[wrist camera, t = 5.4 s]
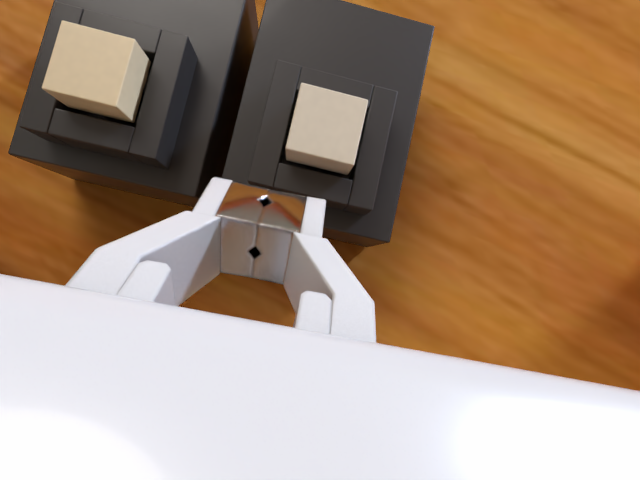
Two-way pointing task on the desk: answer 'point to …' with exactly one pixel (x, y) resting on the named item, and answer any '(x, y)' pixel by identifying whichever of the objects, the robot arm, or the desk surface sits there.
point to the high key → (97, 72)
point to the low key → (325, 129)
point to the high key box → (148, 98)
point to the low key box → (341, 76)
